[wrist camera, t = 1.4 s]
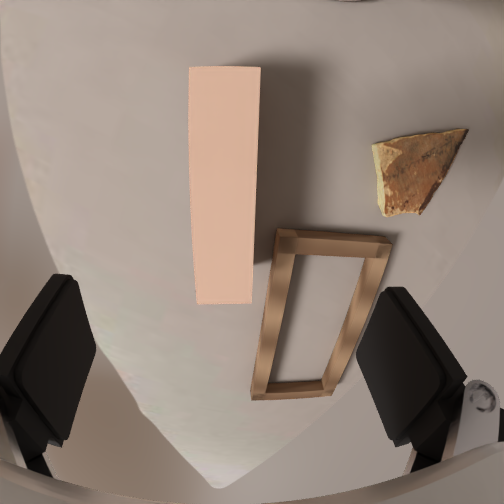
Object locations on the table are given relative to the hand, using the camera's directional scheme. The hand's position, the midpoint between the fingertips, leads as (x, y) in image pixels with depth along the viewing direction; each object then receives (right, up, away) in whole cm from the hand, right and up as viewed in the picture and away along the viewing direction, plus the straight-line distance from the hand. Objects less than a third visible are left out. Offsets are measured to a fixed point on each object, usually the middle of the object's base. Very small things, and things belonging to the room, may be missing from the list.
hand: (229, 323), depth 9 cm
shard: (+15, +11, +15) cm, 24 cm away
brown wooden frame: (+7, -6, +22) cm, 24 cm away
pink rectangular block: (-2, +8, +14) cm, 17 cm away
